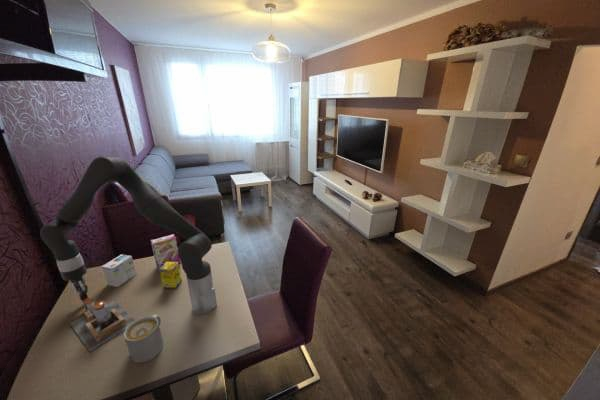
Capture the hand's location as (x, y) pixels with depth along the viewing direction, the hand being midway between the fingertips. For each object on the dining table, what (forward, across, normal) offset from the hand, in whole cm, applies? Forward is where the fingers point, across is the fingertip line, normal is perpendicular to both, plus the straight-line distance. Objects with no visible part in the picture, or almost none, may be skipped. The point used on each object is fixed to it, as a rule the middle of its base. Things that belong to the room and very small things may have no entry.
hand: (84, 299), depth 106 cm
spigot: (+2, -22, 0) cm, 22 cm away
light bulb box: (+2, +5, -16) cm, 17 cm away
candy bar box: (+2, -3, -35) cm, 35 cm away
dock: (+2, -19, 0) cm, 19 cm away
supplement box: (+2, -19, -28) cm, 34 cm away
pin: (+1, -10, 0) cm, 10 cm away
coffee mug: (+2, -43, -6) cm, 44 cm away
